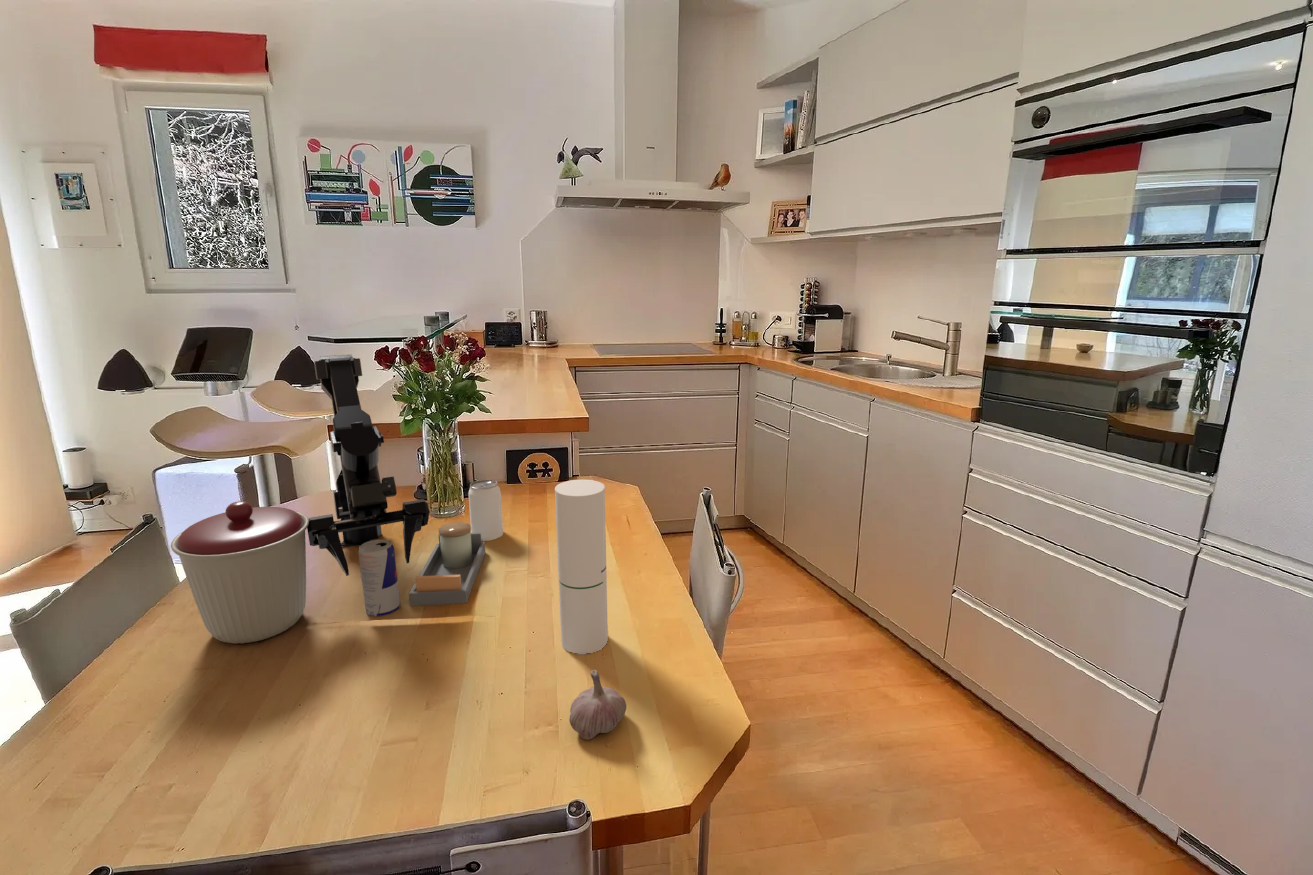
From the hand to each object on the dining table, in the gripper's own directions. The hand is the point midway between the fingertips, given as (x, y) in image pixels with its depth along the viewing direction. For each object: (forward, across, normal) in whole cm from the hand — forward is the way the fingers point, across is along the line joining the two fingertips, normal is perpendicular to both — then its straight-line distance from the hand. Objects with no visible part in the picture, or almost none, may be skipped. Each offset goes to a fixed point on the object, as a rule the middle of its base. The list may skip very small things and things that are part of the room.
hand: (378, 568), depth 108 cm
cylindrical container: (+23, +26, -11) cm, 36 cm away
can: (-10, +23, +21) cm, 33 cm away
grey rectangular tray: (+1, +12, +10) cm, 16 cm away
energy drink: (+6, 0, +6) cm, 8 cm away
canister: (+2, -18, +9) cm, 20 cm away
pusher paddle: (+6, +9, +3) cm, 11 cm away
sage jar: (-3, +15, +13) cm, 20 cm away
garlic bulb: (+36, +20, -24) cm, 48 cm away
